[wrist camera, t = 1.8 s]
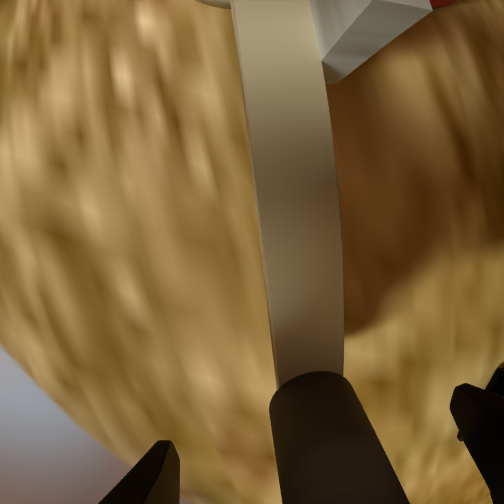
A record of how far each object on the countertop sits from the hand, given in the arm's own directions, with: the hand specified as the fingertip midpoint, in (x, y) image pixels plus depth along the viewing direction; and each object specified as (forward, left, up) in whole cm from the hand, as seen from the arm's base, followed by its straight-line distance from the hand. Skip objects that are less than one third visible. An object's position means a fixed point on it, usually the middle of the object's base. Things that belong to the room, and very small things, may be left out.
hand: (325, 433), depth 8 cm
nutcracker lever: (+8, +3, -4) cm, 10 cm away
